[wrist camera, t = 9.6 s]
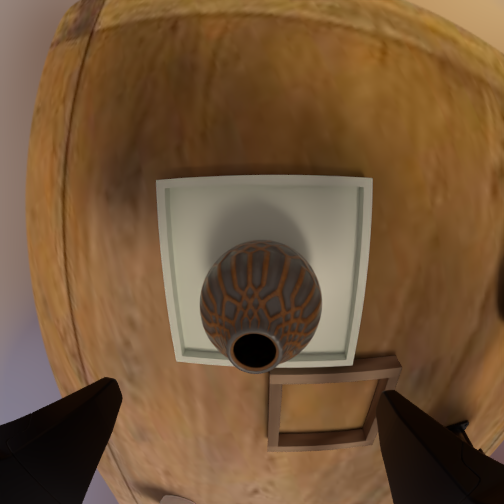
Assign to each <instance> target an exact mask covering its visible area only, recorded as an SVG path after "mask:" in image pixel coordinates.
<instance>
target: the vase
mask: <svg viewBox="0 0 504 504" xmlns="http://www.w3.org/2000/svg"><path fill="white" fill-rule="evenodd" d="M321 312H322V293H321V288H320V285H319V281H318V279H317V276H316V274H315V272H314V270H313V269H312V267H311V266H310V264H309V263H308V262H307V260H306V259H305V258H304V257H303V256H302V255H301V254H300V253H298V252H297V251H296V250H294V249H293V248H291V247H289V246H287V245H285V244H282V243H279V242H276V241H271V240H253V241H248V242H244V243H241V244H239V245H236V246H234V247H233V248H231V249H229V250H228V251H227V252H225V253H224V254H223V255H222V256H221V257H220V258H219V259H218V260H217V261H216V262H215V263H214V264H213V266H212V267H211V268H210V270H209V272H208V273H207V275H206V277H205V280H204V282H203V285H202V289H201V294H200V316H201V321H202V325H203V328H204V330H205V332H206V335H207V337H208V338H209V340H210V341H211V343H212V344H213V345H214V346H215V348H216V349H217V350H218V351H219V352H220V353H222V354H223V355H224V356H226V357H227V358H228V359H229V361H230V362H231V363H232V364H233V365H234V366H235V367H236V368H238V369H239V370H241V371H244V372H247V373H252V374H260V373H265V372H268V371H270V370H272V369H274V368H275V367H277V366H278V365H279V364H281V363H284V362H286V361H288V360H290V359H292V358H293V357H295V356H296V355H298V354H299V353H300V352H301V351H302V350H303V349H304V348H305V347H306V346H307V345H308V343H309V342H310V341H311V339H312V338H313V336H314V334H315V332H316V330H317V327H318V324H319V321H320V317H321Z"/></svg>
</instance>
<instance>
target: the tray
mask: <svg viewBox="0 0 504 504" xmlns="http://www.w3.org/2000/svg"><path fill="white" fill-rule="evenodd" d="M372 185H373V178H362V177H344V176H318V175H236V176H210V177H191V178H176V179H163V180H156V193H157V211H158V226H159V238H160V249H161V259H162V269H163V277H164V286H165V293H166V301H167V308H168V315H169V321H170V328H171V334H172V340H173V345H174V351H175V356H176V361H179V362H188V363H198V364H210V365H223V366H234V365H233V364H232V363H231V362H230V361H229V359H228V358H227V357H226V356H224V355H223V354H222V353H220V352H219V351H218V350H217V349H216V348H215V346H214V345H213V344H212V343H211V341H210V340H209V338H208V337H207V335H206V332H205V330H204V328H203V325H202V321H201V316H200V294H201V289H202V285H203V282H204V280H205V277H206V275H207V273H208V272H209V270H210V268H211V267H212V266H213V264H214V263H215V262H216V261H217V260H218V259H219V258H220V257H221V256H222V255H223V254H224V253H225V252H227V251H228V250H229V249H231V248H233V247H234V246H236V245H239V244H241V243H244V242H248V241H253V240H271V241H276V242H279V243H282V244H285V245H287V246H289V247H291V248H293V249H294V250H296V251H297V252H298V253H300V254H301V255H302V256H303V257H304V258H305V259H306V260H307V262H308V263H309V264H310V266H311V267H312V269H313V270H314V272H315V274H316V276H317V279H318V281H319V285H320V288H321V293H322V312H321V317H320V321H319V324H318V327H317V330H316V332H315V334H314V336H313V338H312V339H311V341H310V342H309V343H308V345H307V346H306V347H305V348H304V349H303V350H302V351H301V352H300V353H299V354H298V355H296V356H295V357H293V358H292V359H290V360H288V361H286V362H284V363H281V364H279V365H278V366H277V367H275V368H302V367H333V366H351V365H353V360H354V355H355V350H356V345H357V340H358V334H359V328H360V322H361V316H362V309H363V302H364V295H365V287H366V278H367V269H368V259H369V248H370V234H371V217H372Z"/></svg>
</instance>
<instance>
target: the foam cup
mask: <svg viewBox="0 0 504 504" xmlns="http://www.w3.org/2000/svg"><path fill="white" fill-rule="evenodd" d="M159 504H196V503H194V502H192V501H190V500H188V499H185V498H182V497H178V496H173V495H165V496H163V498H162V499H161V501H160V503H159Z"/></svg>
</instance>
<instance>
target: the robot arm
mask: <svg viewBox="0 0 504 504" xmlns="http://www.w3.org/2000/svg"><path fill="white" fill-rule="evenodd" d="M121 403H122V393H121V391H120V388H119V385H118V383H117V381H116V380H115V379H113V378H109V377H104V378H102V379H100V380H98V381H96V382H94V383H92V384H90V385H88V386H86V387H84V388H82V389H80V390H78V391H76V392H74V393H72V394H70V395H68V396H66V397H64V398H62V399H60V400H58V401H56V402H54V403H52V404H49V405H47V406H45V407H43V408H41V409H39V410H37V411H35V412H33V413H32V414H31V413H30V414H28V415H26V416H24V417H21V418H19V419H16V420H14V421H11V422H8V423H6V424H3V425H0V504H82V502H83V500H84V497H85V495H86V492H87V490H88V487H89V485H90V483H91V480H92V478H93V475H94V473H95V471H96V468H97V466H98V464H99V461H100V459H101V457H102V454H103V452H104V450H105V447H106V445H107V443H108V441H109V438H110V436H111V434H112V431H113V428H114V425H115V422H116V418H117V415H118V412H119V409H120V406H121ZM376 419H377V426H378V433H379V440H380V447H381V452H382V457H383V461H384V464H385V468H386V473H387V477H388V481H389V485H390V490H391V494H392V498H393V503H394V504H504V465H503V464H501V463H499V462H498V461H496V460H494V459H492V458H490V457H488V456H487V455H485V453H484V452H483V451H482V449H481V448H480V449H479V450H477V449H475V448H474V447H473V445H472V443H471V442H470V440H469V438H468V436H467V434H466V433H465V431H464V430H465V429H466V427H467V426H468V424H469V422H468V421H464V422H461V423H458V424H455V425H452V426H449V427H446V428H445V427H444V426H443V425H441V424H440V423H439V422H437V421H436V420H434V419H433V418H432V417H430V416H429V415H428V414H426V413H425V412H424V411H422V410H421V409H420V408H418V407H417V406H415V405H414V404H413V403H411V402H410V401H409V400H407V399H406V398H405V397H403V396H402V395H401V394H399V393H398V392H397V391H395V390H385V391H383V392H382V393H381V395H380V398H379V401H378V403H377V406H376Z"/></svg>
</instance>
